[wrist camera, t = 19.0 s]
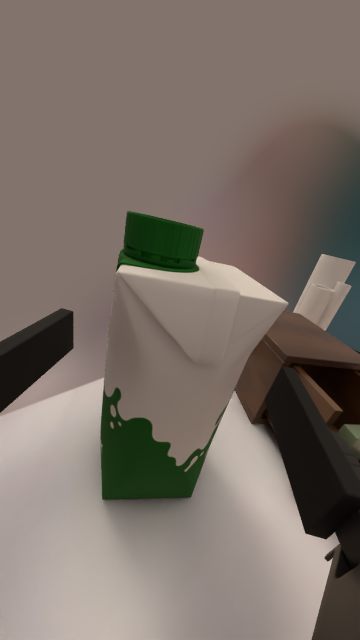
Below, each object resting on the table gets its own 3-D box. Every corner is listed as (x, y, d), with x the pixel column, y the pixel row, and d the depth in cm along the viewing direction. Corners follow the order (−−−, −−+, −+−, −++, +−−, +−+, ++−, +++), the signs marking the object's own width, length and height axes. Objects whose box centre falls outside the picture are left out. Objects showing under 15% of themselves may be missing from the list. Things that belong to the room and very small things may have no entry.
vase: (283, 326, 59) (319, 253, 50) (311, 335, 56) (353, 261, 48) (284, 342, 49) (328, 255, 40) (318, 355, 47) (372, 266, 38)
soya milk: (108, 412, 23) (128, 209, 14) (188, 416, 25) (249, 238, 16) (86, 516, 15) (99, 207, 7) (205, 511, 17) (339, 263, 8)
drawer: (449, 559, 17) (551, 506, 13) (342, 576, 14) (430, 518, 11) (307, 395, 32) (337, 349, 28) (244, 391, 29) (267, 340, 26)
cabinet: (329, 425, 28) (376, 365, 24) (251, 423, 26) (287, 355, 21) (275, 361, 40) (299, 313, 36) (218, 355, 38) (237, 303, 33)
